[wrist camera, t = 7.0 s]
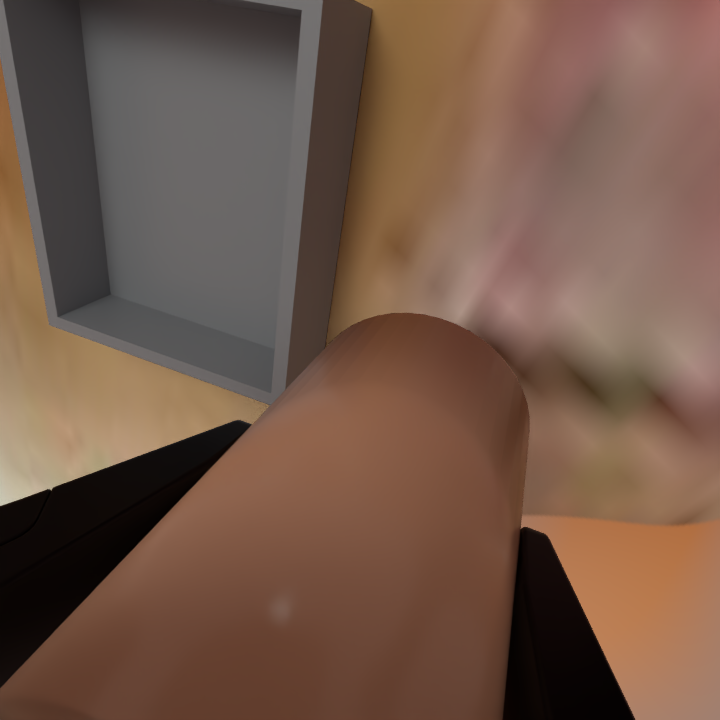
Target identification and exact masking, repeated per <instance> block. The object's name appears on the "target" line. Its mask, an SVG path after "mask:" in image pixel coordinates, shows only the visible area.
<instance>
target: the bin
mask: <svg viewBox="0 0 720 720" xmlns="http://www.w3.org/2000/svg"><path fill="white" fill-rule="evenodd" d="M371 14H372V9H371V8H369V7H367V6H365V5H363V4H361V3H359V2H356V1H354V0H0V58H1V64H2V69H3V75H4V80H5V85H6V91H7V96H8V102H9V107H10V113H11V118H12V124H13V129H14V135H15V140H16V146H17V151H18V157H19V162H20V167H21V173H22V178H23V184H24V189H25V195H26V200H27V206H28V211H29V217H30V222H31V228H32V233H33V239H34V244H35V249H36V255H37V260H38V266H39V271H40V277H41V282H42V288H43V293H44V299H45V304H46V310H47V315H48V321H49V325H51V326H53V327H56V328H59V329H62V330H64V331H67V332H70V333H73V334H76V335H78V336H81V337H84V338H87V339H89V340H92V341H95V342H98V343H100V344H103V345H106V346H109V347H111V348H114V349H117V350H120V351H122V352H125V353H128V354H131V355H133V356H136V357H139V358H142V359H144V360H147V361H150V362H153V363H155V364H158V365H161V366H164V367H166V368H169V369H172V370H175V371H177V372H180V373H183V374H186V375H188V376H191V377H194V378H197V379H199V380H202V381H205V382H208V383H211V384H213V385H216V386H219V387H222V388H224V389H227V390H230V391H233V392H235V393H238V394H241V395H244V396H246V397H249V398H252V399H255V400H257V401H260V402H263V403H266V404H268V405H271V404H272V403H273V402H274V401H275V400H276V399H277V398H278V397H279V396H280V395H281V394H282V393H283V392H284V391H285V390H286V389H287V388H288V386H289V385H290V384H291V383H292V382H293V381H294V380H295V379H296V378H297V377H298V376H299V375H300V374H301V373H302V372H303V371H304V370H305V369H306V368H307V367H308V366H309V364H310V363H311V362H312V361H313V360H314V359H315V358H316V357H317V356H318V355H319V354H320V353H321V352H322V351H323V350H324V349H325V344H326V336H327V329H328V322H329V315H330V308H331V301H332V293H333V286H334V279H335V272H336V265H337V258H338V250H339V243H340V236H341V229H342V222H343V215H344V207H345V200H346V193H347V186H348V179H349V171H350V164H351V157H352V150H353V143H354V136H355V128H356V121H357V114H358V107H359V100H360V93H361V85H362V78H363V71H364V64H365V57H366V50H367V42H368V35H369V28H370V21H371Z"/></svg>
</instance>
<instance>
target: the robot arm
mask: <svg viewBox="0 0 720 720" xmlns="http://www.w3.org/2000/svg"><path fill="white" fill-rule="evenodd" d="M251 425H252V424H249V423H247V422H244V421H241V420H236V421H233V422H230V423H227V424H225V425H222V426H219V427H216V428H214V429H211V430H208V431H206V432H203V433H200V434H197V435H195V436H192V437H189V438H186V439H184V440H181V441H178V442H176V443H173V444H170V445H167V446H165V447H162V448H159V449H157V450H154V451H151V452H148V453H146V454H143V455H140V456H137V457H135V458H132V459H129V460H127V461H124V462H121V463H118V464H116V465H113V466H110V467H108V468H105V469H102V470H99V471H97V472H94V473H91V474H88V475H86V476H83V477H80V478H78V479H75V480H72V481H69V482H67V483H64V484H61V485H59V486H56V487H54V488H53V489H52V491H51V490H50V489H47V490H45V491H42V492H39V493H36V494H34V495H31V496H28V497H25V498H23V499H20V500H17V501H14V502H11V503H8V504H5V505H2V506H0V688H1V687H2V686H3V685H4V684H5V683H6V682H7V681H8V680H9V679H10V677H11V676H12V675H13V674H14V673H15V672H16V671H17V670H18V669H19V668H20V667H21V666H22V665H23V664H24V663H25V662H26V661H27V660H28V659H29V658H30V657H31V655H32V654H33V653H34V652H35V651H36V650H37V649H38V648H39V647H40V646H41V645H42V644H43V643H44V642H45V641H46V640H47V639H48V638H49V637H50V636H51V635H52V634H53V632H54V631H55V630H56V629H57V628H58V627H59V626H60V625H61V624H62V623H63V622H64V621H65V620H66V619H67V618H68V617H69V616H70V615H71V614H72V613H73V612H74V610H75V609H76V608H77V607H78V606H79V605H80V604H81V603H82V602H83V601H84V600H85V599H86V598H87V597H88V596H89V595H90V594H91V593H92V592H93V591H94V590H95V588H96V587H97V586H98V585H99V584H100V583H101V582H102V581H103V580H104V579H105V578H106V577H107V576H108V575H109V574H110V573H111V572H112V571H113V570H114V569H115V568H116V567H117V565H118V564H119V563H120V562H121V561H122V560H123V559H124V558H125V557H126V556H127V555H128V554H129V553H130V552H131V551H132V550H133V549H134V548H135V547H136V546H137V545H138V543H139V542H140V541H141V540H142V539H143V538H144V537H145V536H146V535H147V534H148V533H149V532H150V531H151V530H152V529H153V528H154V527H155V526H156V525H157V524H158V523H159V521H160V520H161V519H162V518H163V517H164V516H165V515H166V514H167V513H168V512H169V511H170V510H171V509H172V508H173V507H174V506H175V505H176V504H177V503H178V502H179V501H180V500H181V498H182V497H183V496H184V495H185V494H186V493H187V492H188V491H189V490H190V489H191V488H192V487H193V486H194V485H195V484H196V483H197V482H198V481H199V480H200V479H201V478H202V476H203V475H204V474H205V473H206V472H207V471H208V470H209V469H210V468H211V467H212V466H213V465H214V464H215V463H216V462H217V461H218V460H219V459H220V458H221V457H222V456H223V455H224V453H225V452H226V451H227V450H228V449H229V448H230V447H231V446H232V445H233V444H234V443H235V442H236V441H237V440H238V439H239V438H240V437H241V436H242V435H243V434H244V433H245V431H246V430H247V429H248V428H249V427H250V426H251ZM503 720H635V718H634V716H633V714H632V711H631V709H630V707H629V705H628V703H627V701H626V699H625V697H624V695H623V693H622V690H621V688H620V686H619V685H618V682H617V680H616V678H615V676H614V674H613V672H612V670H611V668H610V665H609V663H608V661H607V660H606V657H605V655H604V653H603V651H602V649H601V646H600V644H599V642H598V640H597V638H596V636H595V634H594V632H593V630H592V628H591V625H590V623H589V621H588V619H587V617H586V615H585V613H584V611H583V609H582V607H581V604H580V603H579V600H578V598H577V596H576V594H575V592H574V590H573V588H572V586H571V583H570V581H569V579H568V578H567V575H566V573H565V571H564V569H563V567H562V565H561V563H560V560H559V558H558V556H557V554H556V552H555V550H554V548H553V546H552V544H551V541H550V539H549V538H548V536H547V535H546V534H544V533H541V532H539V531H536V530H533V529H531V528H528V527H523V528H522V529H521V530H520V539H519V550H518V561H517V571H516V582H515V593H514V603H513V614H512V625H511V635H510V646H509V657H508V667H507V678H506V689H505V699H504V710H503Z"/></svg>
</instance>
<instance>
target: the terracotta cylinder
mask: <svg viewBox="0 0 720 720" xmlns="http://www.w3.org/2000/svg"><path fill="white" fill-rule="evenodd" d="M529 432H530V416H529V411H528V405H527V401H526V398H525V395H524V392H523V389H522V387H521V385H520V383H519V381H518V379H517V377H516V375H515V374H514V373H513V371H512V370H511V368H510V367H509V365H508V364H507V363H506V361H505V360H504V359H503V358H502V357H501V356H500V355H499V354H498V353H497V352H496V351H495V350H494V349H493V348H492V347H491V346H490V345H488V344H487V343H486V342H485V341H484V340H482V339H481V338H479V337H478V336H476V335H475V334H473V333H472V332H470V331H468V330H466V329H464V328H462V327H460V326H458V325H456V324H454V323H451V322H449V321H446V320H443V319H440V318H437V317H432V316H428V315H423V314H414V313H391V314H384V315H378V316H375V317H371V318H368V319H365V320H362V321H360V322H358V323H356V324H354V325H352V326H350V327H349V328H347V329H346V330H344V331H343V332H341V333H340V334H339V335H338V336H337V337H336V338H335V339H334V340H332V341H331V342H330V344H329V345H328V346H327V347H326V348H325V349H324V350H323V351H322V352H321V353H320V354H319V355H318V356H317V357H316V358H315V359H314V360H313V361H312V362H311V363H310V364H309V366H308V367H307V368H306V369H305V370H304V371H303V372H302V373H301V374H300V375H299V376H298V377H297V378H296V379H295V380H294V381H293V382H292V383H291V384H290V385H289V386H288V388H287V389H286V390H285V391H284V392H283V393H282V394H281V395H280V396H279V397H278V398H277V399H276V400H275V401H274V402H273V403H272V404H271V405H270V406H269V407H268V408H267V409H266V411H265V412H264V413H263V414H262V415H261V416H260V417H259V418H258V419H257V420H256V421H255V422H254V423H253V424H252V425H251V426H250V427H249V428H248V429H247V430H246V431H245V433H244V434H243V435H242V436H241V437H240V438H239V439H238V440H237V441H236V442H235V443H234V444H233V445H232V446H231V447H230V448H229V449H228V450H227V451H226V452H225V453H224V455H223V456H222V457H221V458H220V459H219V460H218V461H217V462H216V463H215V464H214V465H213V466H212V467H211V468H210V469H209V470H208V471H207V472H206V473H205V474H204V475H203V476H202V478H201V479H200V480H199V481H198V482H197V483H196V484H195V485H194V486H193V487H192V488H191V489H190V490H189V491H188V492H187V493H186V494H185V495H184V496H183V497H182V498H181V500H180V501H179V502H178V503H177V504H176V505H175V506H174V507H173V508H172V509H171V510H170V511H169V512H168V513H167V514H166V515H165V516H164V517H163V518H162V519H161V520H160V521H159V523H158V524H157V525H156V526H155V527H154V528H153V529H152V530H151V531H150V532H149V533H148V534H147V535H146V536H145V537H144V538H143V539H142V540H141V541H140V542H139V543H138V545H137V546H136V547H135V548H134V549H133V550H132V551H131V552H130V553H129V554H128V555H127V556H126V557H125V558H124V559H123V560H122V561H121V562H120V563H119V564H118V565H117V567H116V568H115V569H114V570H113V571H112V572H111V573H110V574H109V575H108V576H107V577H106V578H105V579H104V580H103V581H102V582H101V583H100V584H99V585H98V586H97V587H96V588H95V590H94V591H93V592H92V593H91V594H90V595H89V596H88V597H87V598H86V599H85V600H84V601H83V602H82V603H81V604H80V605H79V606H78V607H77V608H76V609H75V610H74V612H73V613H72V614H71V615H70V616H69V617H68V618H67V619H66V620H65V621H64V622H63V623H62V624H61V625H60V626H59V627H58V628H57V629H56V630H55V631H54V632H53V634H52V635H51V636H50V637H49V638H48V639H47V640H46V641H45V642H44V643H43V644H42V645H41V646H40V647H39V648H38V649H37V650H36V651H35V652H34V653H33V654H32V655H31V657H30V658H29V659H28V660H27V661H26V662H25V663H24V664H23V665H22V666H21V667H20V668H19V669H18V670H17V671H16V672H15V673H14V674H13V675H12V676H11V677H10V679H9V680H8V681H7V682H6V683H5V684H4V685H3V686H2V687H1V688H0V720H503V710H504V699H505V689H506V678H507V667H508V657H509V646H510V635H511V625H512V614H513V603H514V593H515V582H516V571H517V561H518V550H519V539H520V528H521V518H522V507H523V496H524V486H525V475H526V464H527V454H528V443H529Z"/></svg>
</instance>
